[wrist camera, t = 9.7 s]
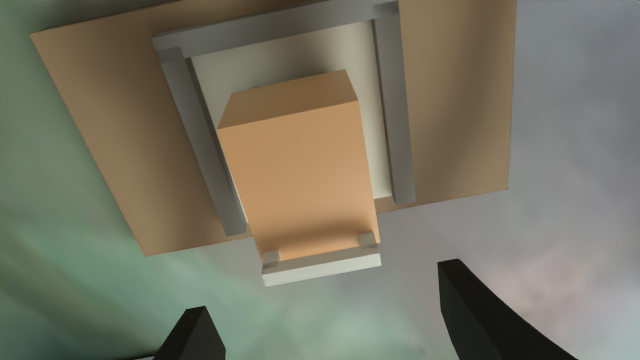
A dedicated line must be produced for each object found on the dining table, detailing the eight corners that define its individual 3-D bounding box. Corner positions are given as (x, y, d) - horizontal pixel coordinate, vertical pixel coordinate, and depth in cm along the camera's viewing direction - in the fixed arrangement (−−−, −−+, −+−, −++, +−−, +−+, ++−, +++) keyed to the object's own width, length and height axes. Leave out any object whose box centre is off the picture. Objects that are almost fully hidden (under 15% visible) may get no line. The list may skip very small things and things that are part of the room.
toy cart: (361, 178, 21) (386, 264, 15) (269, 196, 21) (260, 287, 16) (342, 61, 18) (364, 114, 12) (235, 84, 18) (209, 146, 13)
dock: (151, 243, 24) (139, 269, 22) (44, 29, 18) (14, 39, 16) (498, 177, 23) (516, 198, 21) (505, -71, 17) (532, -74, 15)
